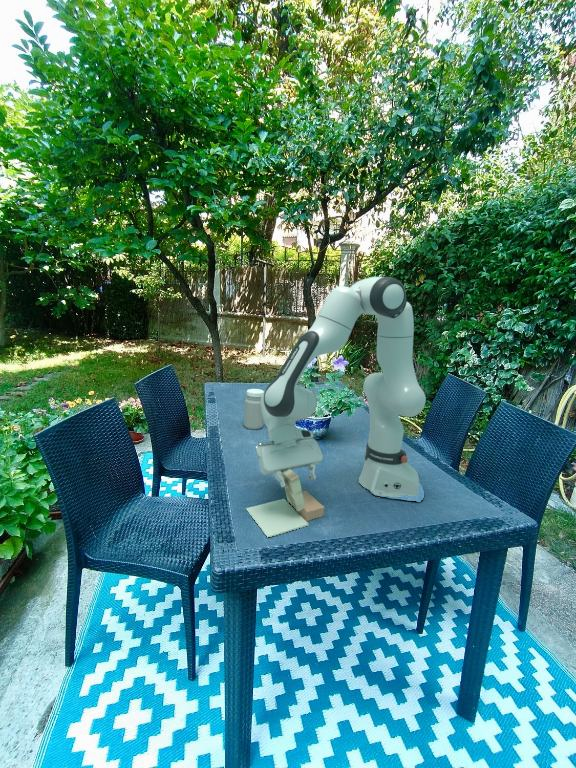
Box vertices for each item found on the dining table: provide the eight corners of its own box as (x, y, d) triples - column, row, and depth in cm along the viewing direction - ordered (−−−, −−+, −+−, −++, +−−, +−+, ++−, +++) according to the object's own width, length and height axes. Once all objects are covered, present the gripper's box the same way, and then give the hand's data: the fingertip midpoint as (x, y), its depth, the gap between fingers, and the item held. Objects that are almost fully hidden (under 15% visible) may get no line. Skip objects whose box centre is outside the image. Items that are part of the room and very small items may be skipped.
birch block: (287, 500, 106) (280, 470, 102) (294, 496, 107) (288, 467, 103) (298, 511, 101) (291, 480, 97) (305, 507, 102) (298, 476, 98)
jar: (254, 431, 164) (256, 394, 160) (239, 426, 170) (240, 390, 166) (267, 426, 172) (270, 391, 168) (253, 421, 178) (254, 387, 173)
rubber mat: (245, 510, 104) (245, 508, 104) (284, 500, 110) (284, 498, 110) (267, 538, 92) (267, 536, 92) (308, 525, 99) (308, 524, 99)
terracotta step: (288, 503, 109) (289, 494, 108) (305, 498, 112) (305, 490, 111) (306, 521, 101) (307, 512, 100) (323, 516, 104) (324, 507, 103)
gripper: (257, 439, 100) (271, 487, 94) (316, 430, 110) (332, 473, 104) (250, 448, 105) (263, 494, 99) (307, 438, 115) (322, 479, 109)
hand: (299, 483), depth 102 cm, fingers open, 8 cm apart
